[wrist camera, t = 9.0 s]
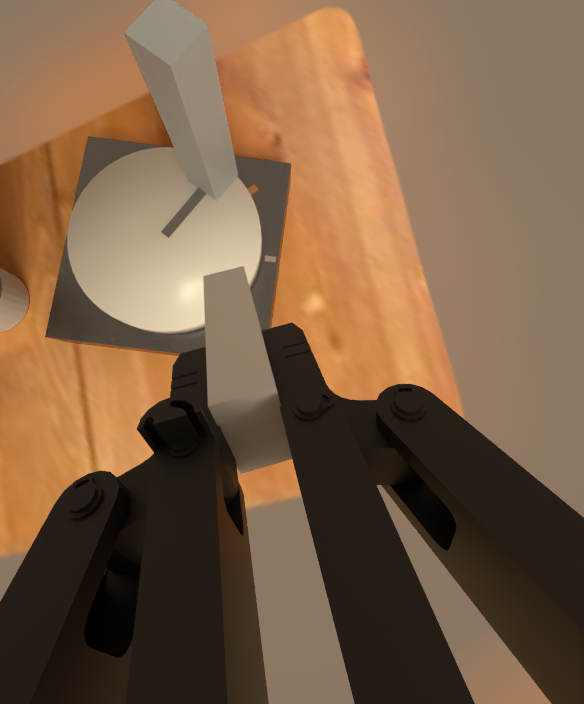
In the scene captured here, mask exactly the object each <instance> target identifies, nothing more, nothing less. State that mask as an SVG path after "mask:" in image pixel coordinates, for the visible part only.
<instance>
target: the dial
mask: <svg viewBox="0 0 584 704" xmlns="http://www.w3.org/2000/svg"><path fill="white" fill-rule="evenodd" d="M124 34H125V37H126V39H127V41H128V44H129V46H130V48H131V50H132V53H133V55H134V57H135V60H136V62H137V64H138V66H139V69H140V71H141V73H142V75H143V78H144V80H145V82H146V85H147V87H148V89H149V91H150V94H151V96H152V98H153V101H154V103H155V105H156V107H157V110H158V112H159V114H160V116H161V119H162V121H163V123H164V126H165V128H166V130H167V132H168V135H169V137H170V139H171V142H172V144H173V146H174V147H159V148H151V149H145V150H141V151H137V152H134V153H131V154H129V155H126V156H124V157H122V158H120V159H118V160H116V161H114V162H113V163H111V164H109V165H108V166H107V167H105V168H104V169H103V170H101V171H100V172H99V173H98V174H97V175H96V176H95V177H94V178H93V179H92V180H91V181H90V182H89V183H88V185H87V186H86V187H85V189H84V190H83V191H82V193H81V195H80V196H79V198H78V200H77V202H76V204H75V206H74V209H73V211H72V214H71V218H70V221H69V226H68V233H67V249H68V256H69V261H70V264H71V268H72V271H73V273H74V275H75V278H76V280H77V282H78V284H79V285H80V287H81V288H82V290H83V291H84V293H85V294H86V295H87V296H88V297H89V299H90V300H91V301H92V302H93V303H94V304H95V305H97V306H98V307H99V308H100V309H101V310H102V311H104V312H105V313H107V314H108V315H110V316H112V317H113V318H115V319H118V320H120V321H122V322H124V323H126V324H128V325H130V326H133V327H135V328H138V329H141V330H144V331H149V332H154V333H163V334H176V333H185V332H190V331H195V330H198V329H201V328H204V327H205V310H204V282H203V276H205V275H209V274H213V273H217V272H221V271H225V270H229V269H233V268H237V267H241V266H244V269H245V272H246V276H247V280H248V283H249V287H250V289H251V287H252V285H253V283H254V281H255V279H256V276H257V273H258V270H259V267H260V262H261V258H262V234H261V226H260V220H259V216H258V211H257V209H256V206H255V203H254V201H253V199H252V197H251V195H250V193H249V191H248V190H247V188H246V187H245V185H244V184H243V183H242V181H241V180H240V179H239V178H238V177H237V176H238V171H237V166H236V161H235V156H234V151H233V146H232V141H231V136H230V131H229V126H228V121H227V116H226V111H225V106H224V101H223V96H222V91H221V86H220V81H219V76H218V71H217V66H216V61H215V56H214V51H213V46H212V41H211V36H210V31H209V26H208V24H206V23H205V22H203V21H202V20H200V19H199V18H198V17H196V16H195V15H193V14H192V13H191V12H189V11H188V10H186V9H185V8H183V7H182V6H181V5H179V4H178V3H176V2H175V1H173V0H154V2H153V3H152V4H151V5H150V6H149V7H148V8H147V9H146V10H145V11H144V12H143V13H142V14H141V15H140V16H139V17H138V18H137V19H136V20H135V21H134V23H132V25H131V26H130V27H129V28H128V29H127V30H126V31H125V32H124Z"/></svg>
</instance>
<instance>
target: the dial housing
mask: <svg viewBox="0 0 584 704" xmlns="http://www.w3.org/2000/svg"><path fill="white" fill-rule="evenodd" d="M159 147H163V146H155V145H148V144H140V143H133V142H125V141H118V140H110V139H103V138H95V137H88V140H87V144H86V149H85V154H84V158H83V163H82V168H81V172H80V177H79V182H78V186H77V191H76V196H75V200H74V205H73V209H74V206H75V204H76V202H77V200H78V198H79V196H80V195H81V193H82V191H83V190H84V189H85V187H86V186H87V185H88V183H89V182H90V181H91V180H92V179H93V178H94V177H95V176H96V175H97V174H98V173H99V172H100V171H101V170H103V169H104V168H105V167H107V166H108V165H109V164H111V163H113V162H114V161H116V160H118V159H120V158H122V157H124V156H126V155H129V154H131V153H134V152H137V151H141V150H145V149H151V148H159ZM235 161H236V166H237V171H238V176H237V177H238V178H239V179H240V180H241V181H242V183H243V184H244V185H245V187H246V188H247V190H248V191H249V193H250V195H251V197H252V199H253V201H254V203H255V206H256V209H257V211H258V216H259V220H260V226H261V234H262V258H261V262H260V267H259V270H258V273H257V276H256V279H255V281H254V283H253V285H252V287H251V289H250V291H251V294H252V298H253V302H254V305H255V309H256V313H257V316H258V320H259V324H260V327H261V331H262V330H266V329H270V328H271V325H272V318H273V310H274V302H275V295H276V287H277V280H278V272H279V265H280V257H281V249H282V242H283V234H284V227H285V219H286V212H287V204H288V196H289V189H290V177H291V164H290V163H282V162H275V161H267V160H260V159H252V158H245V157H237V156H235ZM72 211H73V210H72ZM45 337H48V338H52V339H57V340H61V341H65V342H71V343H79V344H87V345H95V346H103V347H111V348H119V349H127V350H136V351H144V352H152V353H160V354H168V355H176V356H179V355H180V354H181V353H184V352H188V351H191V350H195V349H199V348H203V347H206V338H205V327H204V328H201V329H198V330H195V331H190V332H185V333H176V334H163V333H154V332H149V331H144V330H141V329H138V328H135V327H133V326H130V325H128V324H126V323H124V322H122V321H120V320H118V319H115V318H113V317H112V316H110V315H108V314H107V313H105V312H104V311H102V310H101V309H100V308H99V307H98V306H97V305H95V304H94V303H93V302H92V301H91V300H90V299H89V297H88V296H87V295H86V294H85V293H84V291H83V290H82V288H81V287H80V285H79V284H78V282H77V280H76V278H75V275H74V273H73V271H72V268H71V264H70V261H69V256H68V249H67V238H66V242H65V247H64V252H63V256H62V261H61V266H60V270H59V275H58V280H57V284H56V289H55V294H54V298H53V303H52V308H51V312H50V317H49V322H48V326H47V331H46V336H45Z"/></svg>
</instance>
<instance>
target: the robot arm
mask: <svg viewBox="0 0 584 704" xmlns="http://www.w3.org/2000/svg"><path fill="white" fill-rule="evenodd" d="M203 282H204V310H205V338H206V347H203V348H199V349H195V350H191V351H188V352H184V353H181V354H180V355H179V357H178V358H177V360H176V362H175V363H174V365H173V371H172V383H171V390H172V391H171V394H170V398H168V399H165V400H163V401H160V402H159V403H157V404H156V405H154V406H153V407H152V408H150V409H149V410H148V411H147V412H146V413H145V415H144V416H143V417H142V418H141V420H140V422H139V425H138V427H137V430H138V431H139V433H140V434H141V435H142V437H143V438H144V439H145V441H146V442H147V444H148V445H149V446H150V448H151V449H152V450H153V452H154V454H153V455H152V456H151V457H150V458H149V459H147V460H146V461H144V462H143V463H141V464H140V465H138V466H136V467H135V468H133V469H131V470H129V471H128V472H126V473H124V474H122V475H121V476H119V477H116V476H114V475H113V474H112V473H111V472H106V471H97V472H93V473H89V474H87V475H85V476H83V477H82V478H80V479H78V480H76V481H75V482H74V483H73V484H72V485H70V486H69V487H68V488H67V489H66V490H65V491H64V492H63V493H62V495H61V496H60V497H59V499H58V500H57V502H56V503H55V505H54V506H53V508H52V510H51V512H50V514H49V515H48V517H47V519H46V521H45V523H44V524H43V526H42V528H41V530H40V532H39V533H38V535H37V537H36V539H35V540H34V542H33V544H32V546H31V548H30V549H29V551H28V553H27V555H26V557H25V559H24V560H23V562H22V564H21V566H20V567H19V569H18V571H17V573H16V575H15V577H14V578H13V580H12V582H11V584H10V586H9V587H8V589H7V591H6V592H5V594H4V596H3V598H2V600H1V601H0V704H269V703H268V694H267V686H266V678H265V669H264V661H263V653H262V645H261V636H260V627H259V619H258V611H257V602H256V595H255V586H254V577H253V569H252V561H251V552H250V544H249V536H248V527H247V519H246V510H245V502H244V494H243V491H242V488H241V486H240V484H239V482H238V476H237V467H238V469H239V471H240V474H241V473H245V472H248V471H252V470H255V469H259V468H262V467H265V466H269V465H272V464H276V463H279V462H282V461H286V460H289V459H293V463H294V467H295V471H296V475H297V479H298V483H299V487H300V491H301V494H302V498H303V502H304V506H305V510H306V513H307V518H308V522H309V526H310V530H311V534H312V537H313V541H314V545H315V549H316V553H317V557H318V561H319V565H320V569H321V573H322V577H323V581H324V584H325V589H326V593H327V597H328V600H329V604H330V608H331V612H332V616H333V620H334V624H335V628H336V632H337V636H338V640H339V643H340V648H341V651H342V655H343V659H344V663H345V667H346V671H347V675H348V679H349V683H350V686H351V691H352V695H353V699H354V702H355V704H475V703H474V701H473V699H472V697H471V695H470V692H469V690H468V688H467V686H466V683H465V682H464V679H463V677H462V674H461V672H460V670H459V668H458V666H457V663H456V661H455V659H454V657H453V654H452V653H451V650H450V648H449V646H448V643H447V641H446V639H445V637H444V634H443V632H442V630H441V628H440V626H439V623H438V621H437V619H436V617H435V614H434V612H433V610H432V608H431V606H430V603H429V601H428V599H427V597H426V594H425V592H424V590H423V588H422V586H421V583H420V581H419V579H418V577H417V574H416V572H415V570H414V568H413V565H412V564H411V561H410V559H409V557H408V555H407V552H406V550H405V548H404V546H403V543H402V541H401V539H400V537H399V534H398V532H397V530H396V528H395V526H394V523H393V521H392V519H391V517H390V515H389V512H388V510H387V508H386V505H385V503H384V501H383V499H382V497H381V494H380V492H379V490H378V488H377V485H382V486H383V488H384V489H385V490H386V492H387V493H388V494H389V495H390V497H391V498H392V499H393V501H394V502H395V503H396V504H397V506H398V507H399V508H400V510H401V511H402V512H403V513H404V515H405V516H406V517H407V519H408V520H409V521H410V522H411V524H412V525H413V526H414V527H415V529H416V530H417V531H418V533H419V534H420V535H421V537H422V538H423V539H424V540H425V542H426V543H427V544H428V546H429V547H430V548H431V549H432V551H433V552H434V553H435V555H436V556H437V557H438V558H439V560H440V561H441V562H442V564H443V565H444V566H445V567H446V569H447V570H448V571H449V573H450V574H451V575H452V576H453V578H454V579H455V580H456V581H457V583H458V584H459V585H460V587H461V588H462V589H463V590H464V592H465V593H466V594H467V596H468V597H469V598H470V599H471V601H472V602H473V603H474V605H475V606H476V607H477V608H478V610H479V611H480V612H481V614H482V615H483V616H484V617H485V619H486V620H487V621H488V623H489V624H490V625H491V626H492V628H493V629H494V630H495V632H496V633H497V634H498V635H499V637H500V638H501V639H502V640H503V642H504V643H505V644H506V646H507V647H508V648H509V650H510V651H511V652H512V653H513V655H514V656H515V657H516V659H517V660H518V661H519V662H520V664H521V665H522V666H523V668H524V669H525V670H526V671H527V673H528V674H529V675H530V677H531V678H532V679H533V680H534V682H535V683H536V684H537V685H538V687H539V688H540V689H541V691H542V692H543V693H544V694H545V696H546V697H547V698H548V700H549V701H550V702H551V703H552V704H584V518H583V517H582V516H581V515H580V514H578V513H577V512H576V511H575V510H574V509H572V508H571V507H570V506H569V505H567V504H566V503H565V502H564V501H563V500H561V499H560V498H559V497H558V496H557V495H555V494H554V493H553V492H552V491H550V490H549V489H548V488H547V487H546V486H544V485H543V484H542V483H541V482H540V481H538V480H537V479H536V478H535V477H534V476H532V475H531V474H529V472H527V471H526V470H525V469H524V468H523V467H521V466H520V465H519V464H518V463H517V462H515V461H514V460H513V459H512V458H510V457H509V456H508V455H506V453H504V452H503V451H502V450H501V449H500V448H498V447H497V446H496V445H495V444H493V443H492V442H491V441H490V440H488V439H487V438H486V437H485V436H484V435H482V434H481V433H480V432H479V431H478V430H476V429H475V428H474V427H473V426H472V425H470V424H469V423H468V422H467V421H466V420H464V419H463V418H462V417H461V416H459V415H458V414H457V413H456V412H455V411H453V410H452V409H451V408H450V407H449V406H447V405H446V404H445V403H444V402H443V401H441V400H440V399H439V398H438V397H436V396H435V395H434V394H433V393H431V392H430V391H428V390H426V389H424V388H423V387H420V386H416V385H412V384H397V385H394V386H391V387H388V388H387V389H385V390H384V391H383V392H381V393H380V395H379V397H378V399H377V400H349V399H345V398H342V397H340V396H338V395H336V394H334V393H333V392H332V391H331V390H330V389H329V388H328V386H327V385H326V383H325V380H324V378H323V376H322V373H321V371H320V369H319V367H318V364H317V362H316V360H315V358H314V355H313V353H312V352H311V348H310V346H309V344H308V342H307V339H306V337H305V335H304V332H303V330H302V329H300V328H299V327H297V326H296V325H295V324H293V323H289V324H285V325H281V326H278V327H274V328H270V329H266V330H262V331H261V327H260V324H259V320H258V316H257V313H256V309H255V305H254V302H253V298H252V294H251V291H250V287H249V283H248V280H247V276H246V272H245V269H244V266H241V267H237V268H233V269H229V270H225V271H221V272H217V273H213V274H209V275H205V276H203ZM236 465H237V466H236Z"/></svg>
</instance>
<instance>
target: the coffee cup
mask: <svg viewBox="0 0 584 704" xmlns="http://www.w3.org/2000/svg"><path fill="white" fill-rule="evenodd" d="M28 307H29V293H28V290H27V288H26V286H25V285H24V283H23V282H22V281H21V280H20V279H19V278H17V277H16V276H14V275H12V274H10V273H9V272H7V271H5V270H3V269H1V268H0V332H3V331H6V330H9V329H11V328H13V327H14V326H16V325H17V324H18V323H19V322H20V321H21V320H22V319H23V318H24V316H25V315H26V313H27V310H28Z"/></svg>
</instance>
